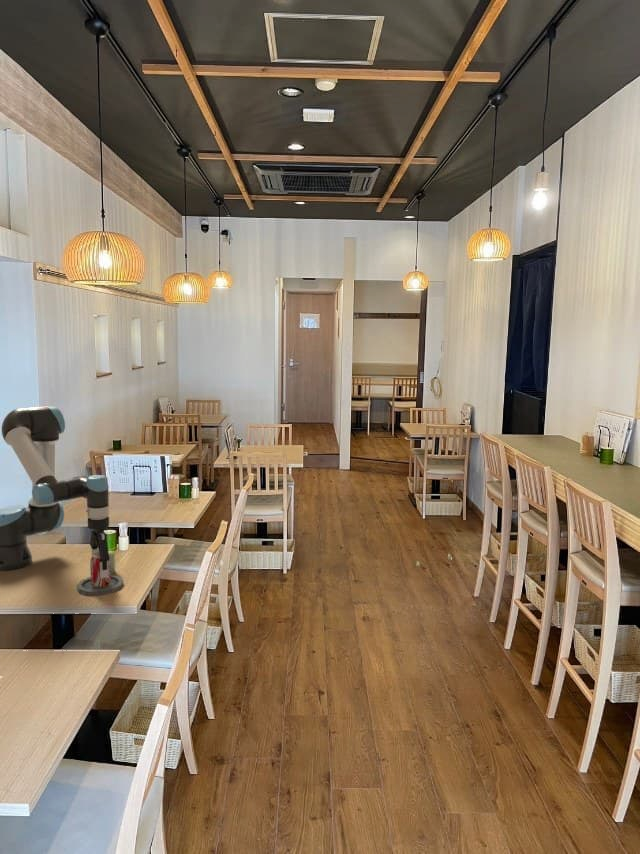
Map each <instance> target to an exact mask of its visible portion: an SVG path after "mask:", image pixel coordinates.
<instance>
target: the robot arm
mask: <svg viewBox="0 0 640 854" xmlns="http://www.w3.org/2000/svg"><path fill="white" fill-rule="evenodd" d="M65 429H66V422H65V418H64V415H63V412H62V411H61V410H60V409H59V408H58V407H57V406H47V405H44V406H34V407H33V406H32V407H21V408H20V407H19V408H15V409H13V410H11V411H10V412H9V413H8V414H6V416H5V417H4V419H3V421H2V424H1V435H2V438H3V440H4V442H5V443H6V444H7V445H8V446H11V448H12V450H13V451H14V453H15V455H16V456H17V458H18V460H19V461H20V464H21V465H22V467H23V470H25V472H26V474H27V475H28V478H29V479H30V481H31V482H32V489H31V496H32V498H30V499H29V500H28V502H27V503H28V504H27V505H28V506H27V507H25V506H24V505H21V504H16V505H8V506H6V507H2V508H0V571H11V570H12V571H13V570H16V569H17V570H18V569H22V568H24V567H27V566H29V565H30V564H32V562H33V555H32V553H31V551H30V548H29V546H28V544H27V537H29V536H33V535H37V534H42V533H47V532H51V531H54V530H58V529H59V528H60V527H61V526H62V525H63V523H64V519H65V509H64V506H63V504H62V503H61V502H64V501H69V500H76V499H80V498H83V499H86V505H87V509H85V512H86V513H87V517H88V518H87V528H88V529H90V530H91V531H90V540H89V541H90V542H89V546H90V548H91V555H92V554H94V553H97V552H99V554H100V560H99V562H100V578H106V577H108V561H109V560H110V558H109V552H108V551H109V547H108V534H107V533H106V531H105V529H107V528H109V527H110V517H109V515H110V505H109V504H110V503H109V497H110V496H109V487H110V485H109V479H108V476H106V475H103V474H93V475H89V476H85V475H81V474H80V475H75V476H73V477H72V478H69V479H63V480H57V478H56V475H55V474H56V443H57V442H58V441H59V440H60V435H61V434H63V433H64V432H65ZM104 557H106V558H104Z"/></svg>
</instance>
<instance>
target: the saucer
mask: <svg viewBox="0 0 640 854" xmlns="http://www.w3.org/2000/svg"><path fill="white" fill-rule="evenodd" d="M123 586H124V579H123V578H122V577H121V576H119V575H114V574H110V583H109V584H108V585H107V586H105V587H101V588H97V587H94V586H92V585H91V576H88V577H85V578H83V579H80V581H79V582H78V583H77V585H76V590H77V592H78V593H80V594H82V595H85V596H101V595H102V596H103V595H108V594H111V592H112V593H115V592H116V591H118V590H120V589H122V587H123Z"/></svg>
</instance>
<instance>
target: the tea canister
mask: <svg viewBox="0 0 640 854" xmlns="http://www.w3.org/2000/svg"><path fill="white" fill-rule="evenodd" d="M108 552H109V558H110V575H113V574H114V573H115V572H116V567H115V566H116V562H115V555H116V554H115V551H113V550H108Z"/></svg>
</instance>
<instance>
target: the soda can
mask: <svg viewBox="0 0 640 854" xmlns="http://www.w3.org/2000/svg"><path fill="white" fill-rule="evenodd" d="M104 558H106V557H104ZM99 560H100V554H99V552H97V553H94V554H92V553H91V558H90V560H89V561H90V562H89V563H90V564H89V565H90V567H89V568H90V569H89V570H90V571H89V572H90V574H89V575H90V577H91V585H92V586H94V587H97V588H101V587H105V586H107V585H108V584H109V583H110V575H111V574H110V560H109V561H108V577H106V578H100V562H99Z"/></svg>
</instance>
